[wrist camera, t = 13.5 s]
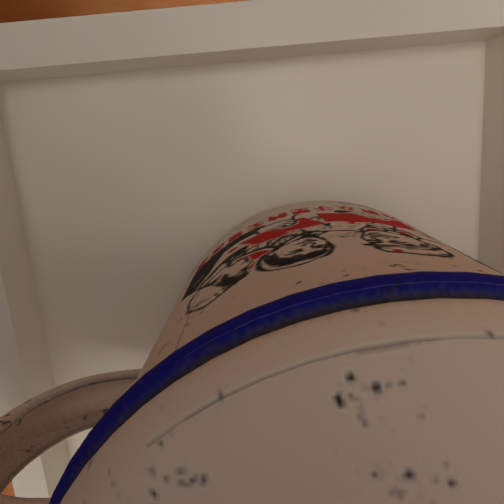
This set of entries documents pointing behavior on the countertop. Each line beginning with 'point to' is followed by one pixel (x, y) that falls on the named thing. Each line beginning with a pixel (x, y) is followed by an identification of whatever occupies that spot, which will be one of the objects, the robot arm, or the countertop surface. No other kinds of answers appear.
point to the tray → (221, 158)
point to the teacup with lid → (296, 377)
